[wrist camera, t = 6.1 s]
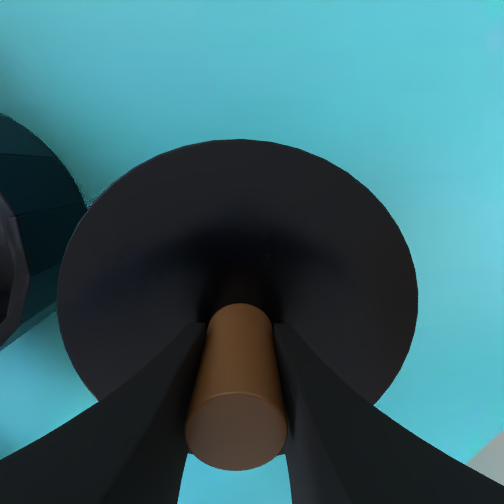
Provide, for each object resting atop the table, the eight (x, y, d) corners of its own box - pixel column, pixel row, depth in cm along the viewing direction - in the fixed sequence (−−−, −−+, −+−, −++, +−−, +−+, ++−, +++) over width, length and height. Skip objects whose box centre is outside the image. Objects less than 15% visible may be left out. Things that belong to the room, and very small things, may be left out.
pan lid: (436, 147, 10) (655, 119, 5) (375, 437, 14) (452, 596, 9) (40, 137, 9) (-217, 95, 4) (100, 438, 14) (9, 604, 8)
